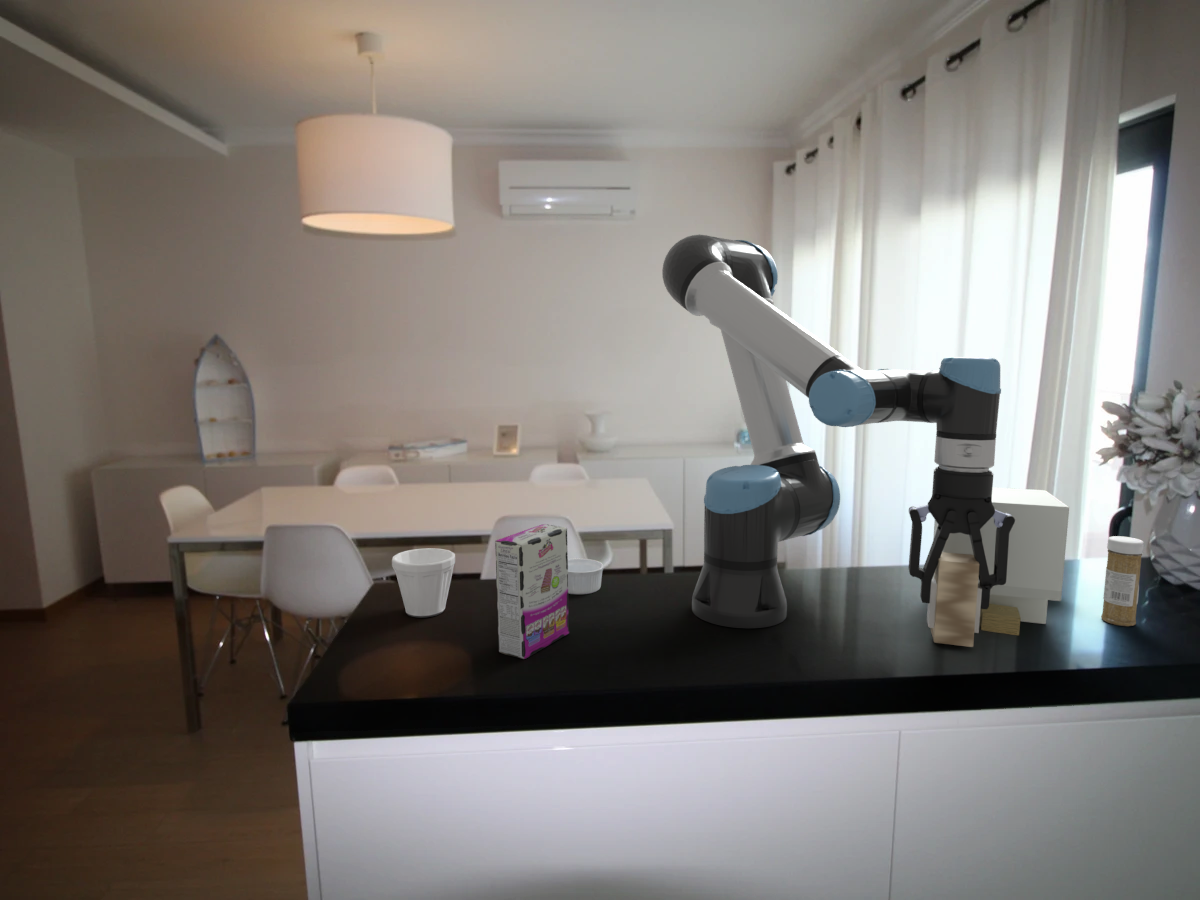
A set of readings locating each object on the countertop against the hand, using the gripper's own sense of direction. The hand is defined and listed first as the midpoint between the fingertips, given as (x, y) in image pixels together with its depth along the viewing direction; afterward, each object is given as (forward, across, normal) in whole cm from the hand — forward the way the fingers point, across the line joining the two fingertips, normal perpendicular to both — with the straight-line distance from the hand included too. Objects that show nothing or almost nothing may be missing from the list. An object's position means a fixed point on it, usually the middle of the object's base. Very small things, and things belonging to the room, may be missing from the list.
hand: (952, 626), depth 105 cm
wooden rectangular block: (+2, 0, +5) cm, 5 cm away
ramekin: (+3, -60, +6) cm, 60 cm away
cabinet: (+3, +7, +14) cm, 16 cm away
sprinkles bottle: (+3, +26, +19) cm, 32 cm away
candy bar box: (+3, -57, -20) cm, 61 cm away
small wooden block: (+3, +8, +10) cm, 13 cm away
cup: (+3, -79, -14) cm, 80 cm away
